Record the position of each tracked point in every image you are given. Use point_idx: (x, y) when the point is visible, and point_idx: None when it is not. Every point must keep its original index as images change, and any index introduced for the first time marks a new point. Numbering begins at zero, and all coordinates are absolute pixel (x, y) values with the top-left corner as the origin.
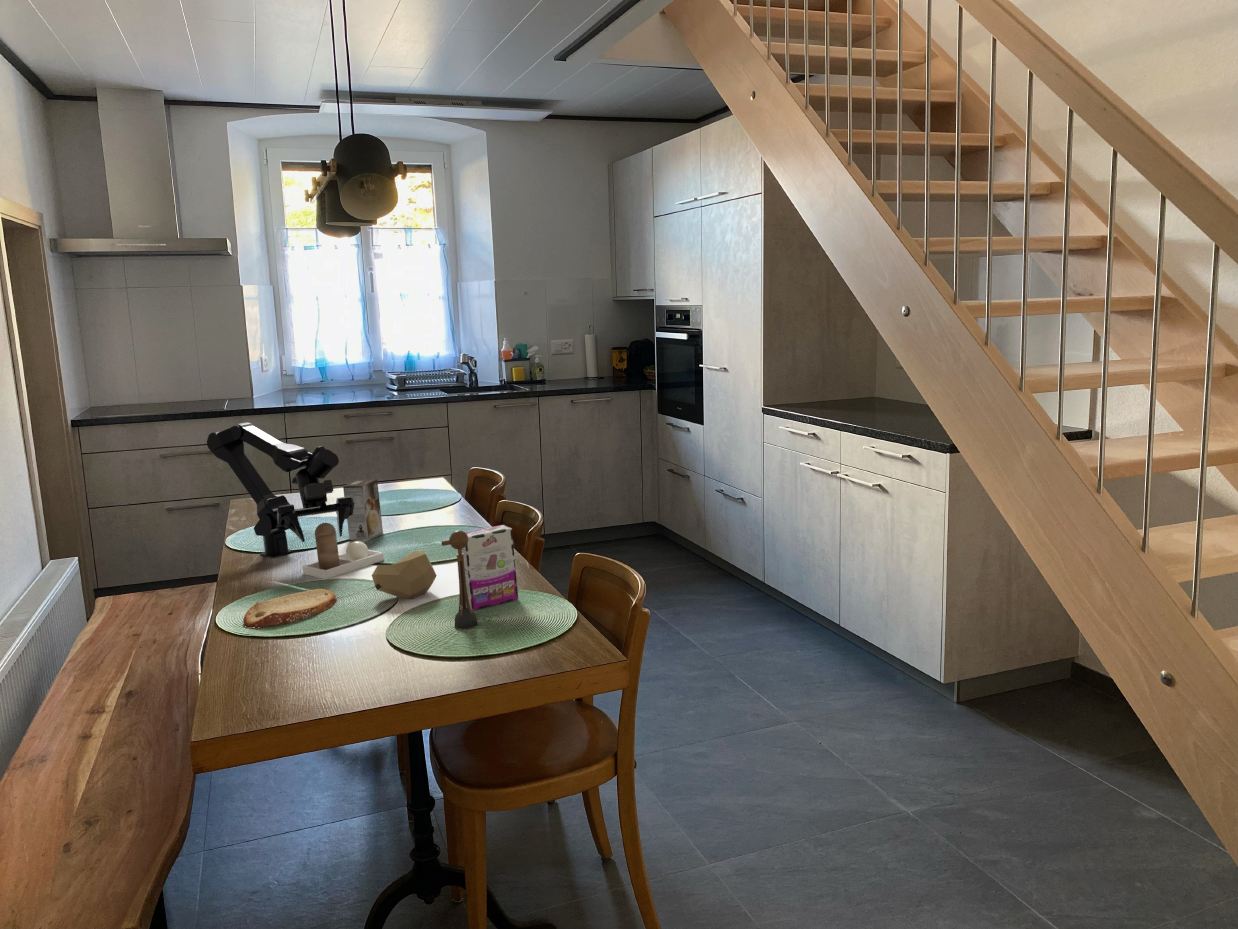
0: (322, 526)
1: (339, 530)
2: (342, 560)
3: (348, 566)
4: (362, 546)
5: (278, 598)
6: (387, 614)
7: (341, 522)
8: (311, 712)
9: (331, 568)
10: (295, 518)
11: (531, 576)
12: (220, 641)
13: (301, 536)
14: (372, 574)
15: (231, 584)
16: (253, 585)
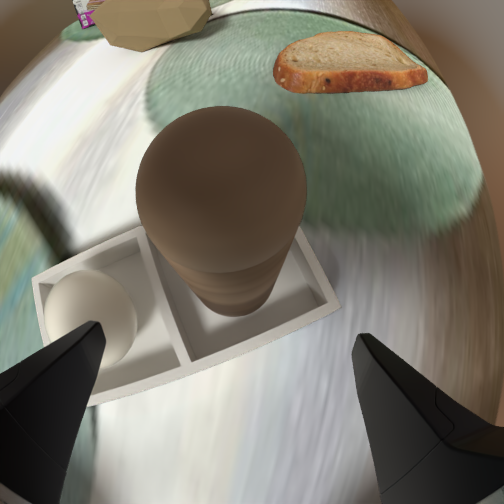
0: (247, 110)
1: (86, 341)
2: (166, 296)
3: None
4: (63, 277)
5: (388, 69)
6: (221, 12)
7: (31, 363)
8: None
9: None
10: (490, 445)
11: (21, 71)
12: (430, 58)
13: (385, 346)
14: (206, 5)
15: (500, 348)
16: (464, 301)
